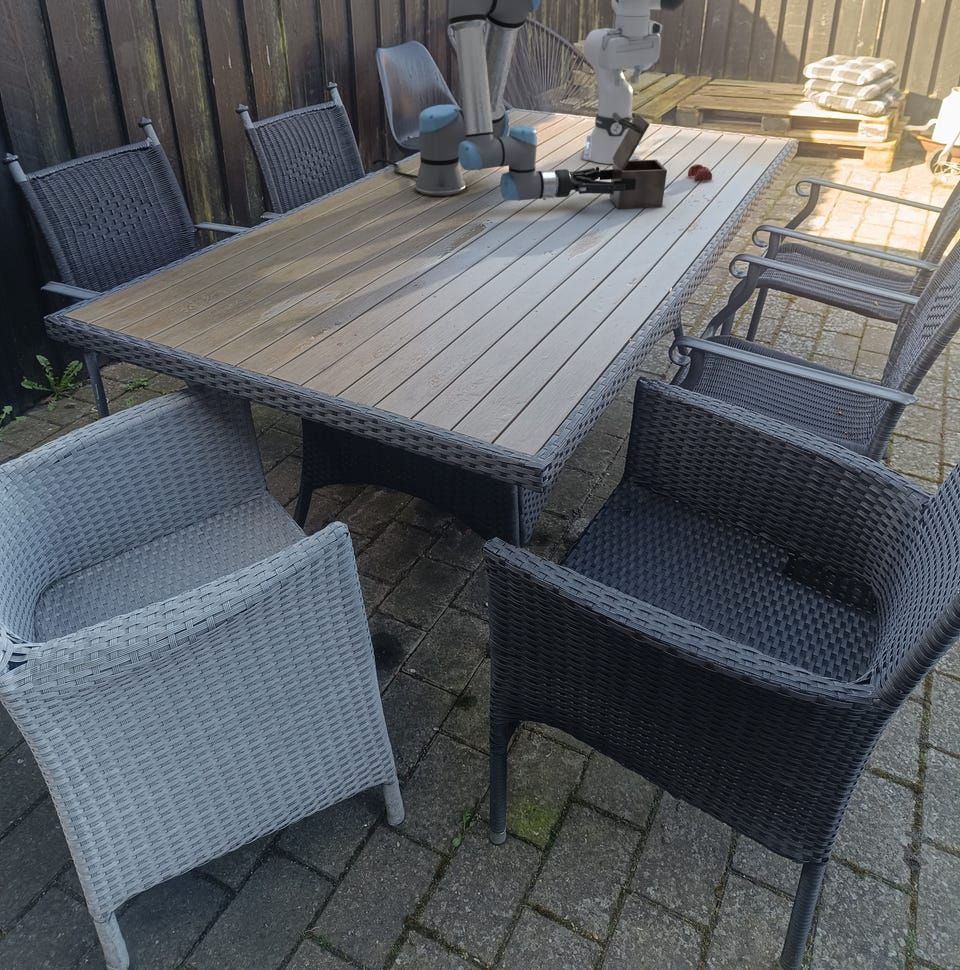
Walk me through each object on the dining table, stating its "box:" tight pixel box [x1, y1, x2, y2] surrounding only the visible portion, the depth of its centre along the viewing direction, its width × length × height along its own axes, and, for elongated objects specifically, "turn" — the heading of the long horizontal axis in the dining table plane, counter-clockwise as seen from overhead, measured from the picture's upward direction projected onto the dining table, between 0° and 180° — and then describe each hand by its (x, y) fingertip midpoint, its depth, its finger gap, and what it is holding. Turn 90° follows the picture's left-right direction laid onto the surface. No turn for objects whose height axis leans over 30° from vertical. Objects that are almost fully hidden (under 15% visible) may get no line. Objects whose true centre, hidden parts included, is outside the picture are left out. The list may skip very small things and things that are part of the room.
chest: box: [609, 159, 668, 210], centre depth 245 cm, size 13×10×10 cm
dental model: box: [687, 163, 713, 182], centre depth 266 cm, size 6×4×8 cm
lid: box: [612, 113, 651, 170], centre depth 236 cm, size 14×10×8 cm
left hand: (627, 179), depth 244 cm, fingers closed on chest, 10 cm apart
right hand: (626, 84), depth 229 cm, fingers open, 5 cm apart
